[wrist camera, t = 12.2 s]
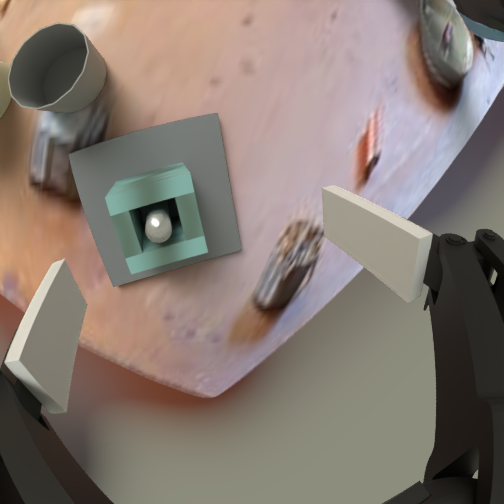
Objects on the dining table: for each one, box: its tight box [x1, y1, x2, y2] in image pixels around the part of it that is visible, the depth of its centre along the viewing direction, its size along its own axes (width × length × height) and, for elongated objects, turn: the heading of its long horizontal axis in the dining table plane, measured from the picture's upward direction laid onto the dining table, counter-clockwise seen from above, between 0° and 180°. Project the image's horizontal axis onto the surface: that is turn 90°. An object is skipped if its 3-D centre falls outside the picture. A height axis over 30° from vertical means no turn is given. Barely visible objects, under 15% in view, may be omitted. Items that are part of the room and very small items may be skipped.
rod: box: [145, 199, 172, 243], centre depth 28 cm, size 2×2×9 cm
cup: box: [8, 23, 107, 113], centre depth 19 cm, size 8×8×10 cm
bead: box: [105, 162, 208, 274], centre depth 28 cm, size 8×8×8 cm
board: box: [68, 113, 241, 287], centre depth 32 cm, size 18×18×2 cm
